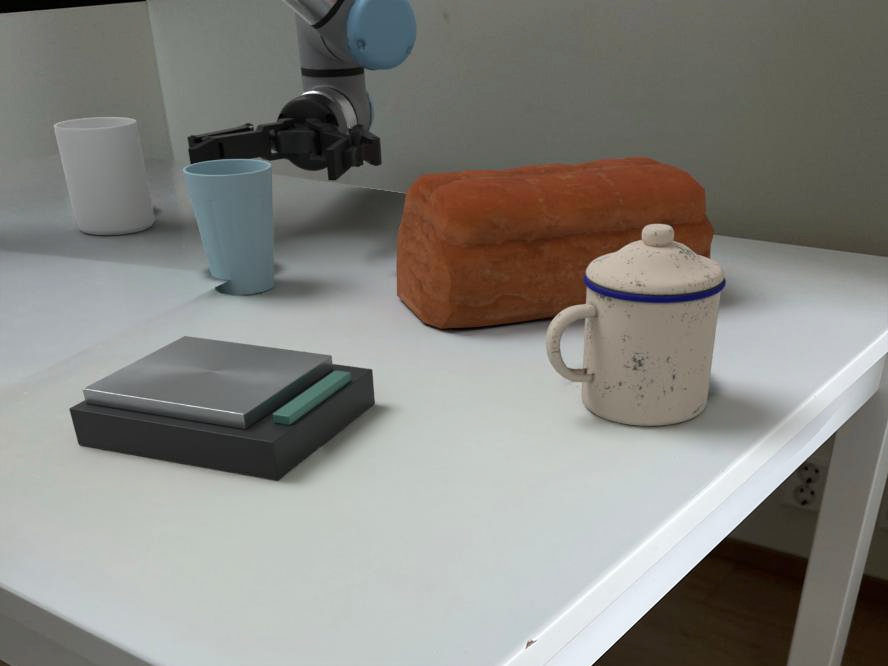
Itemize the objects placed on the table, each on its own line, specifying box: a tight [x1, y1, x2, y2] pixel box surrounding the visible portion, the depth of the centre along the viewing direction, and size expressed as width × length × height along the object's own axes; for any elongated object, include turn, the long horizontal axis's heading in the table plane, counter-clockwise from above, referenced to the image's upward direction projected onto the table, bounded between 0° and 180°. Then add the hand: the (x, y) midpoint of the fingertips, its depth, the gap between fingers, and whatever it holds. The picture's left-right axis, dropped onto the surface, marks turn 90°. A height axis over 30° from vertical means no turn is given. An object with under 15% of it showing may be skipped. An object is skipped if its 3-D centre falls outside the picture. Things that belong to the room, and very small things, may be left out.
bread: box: [395, 156, 716, 329], centre depth 87 cm, size 16×27×11 cm, turn 110°
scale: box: [68, 335, 376, 481], centre depth 66 cm, size 15×13×4 cm
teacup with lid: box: [545, 224, 727, 427], centre depth 66 cm, size 12×9×12 cm
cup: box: [182, 159, 275, 296], centre depth 91 cm, size 8×8×10 cm
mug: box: [53, 116, 155, 236], centre depth 112 cm, size 9×12×11 cm
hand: (261, 164), depth 96 cm, fingers open, 13 cm apart
